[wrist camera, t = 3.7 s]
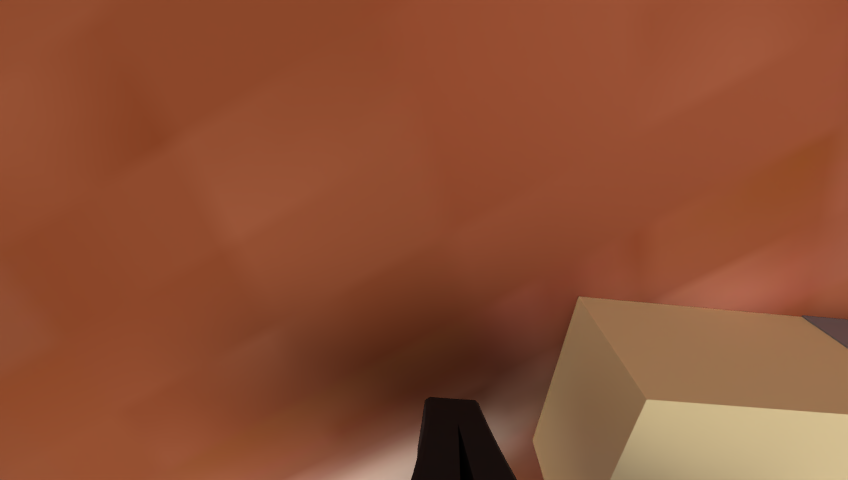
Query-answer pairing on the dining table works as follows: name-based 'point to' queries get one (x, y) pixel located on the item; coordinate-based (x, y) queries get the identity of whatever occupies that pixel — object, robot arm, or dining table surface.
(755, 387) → the block
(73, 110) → the dining table surface
